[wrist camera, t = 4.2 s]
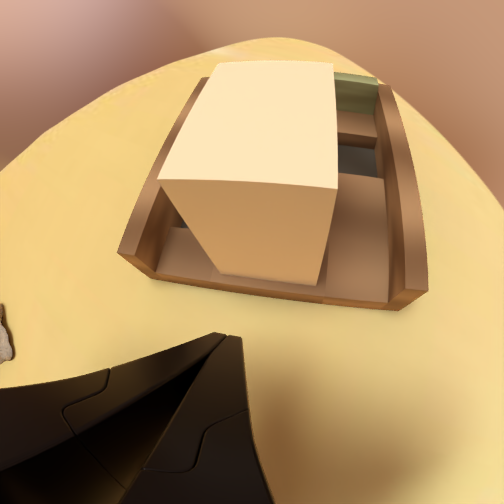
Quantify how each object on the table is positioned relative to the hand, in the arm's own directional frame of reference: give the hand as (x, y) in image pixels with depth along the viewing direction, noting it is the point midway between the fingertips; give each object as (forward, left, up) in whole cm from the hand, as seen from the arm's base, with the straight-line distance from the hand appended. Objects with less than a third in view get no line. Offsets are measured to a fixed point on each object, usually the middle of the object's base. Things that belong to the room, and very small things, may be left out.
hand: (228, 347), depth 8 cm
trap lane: (+8, -8, -7) cm, 14 cm away
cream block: (+5, -5, -6) cm, 9 cm away
